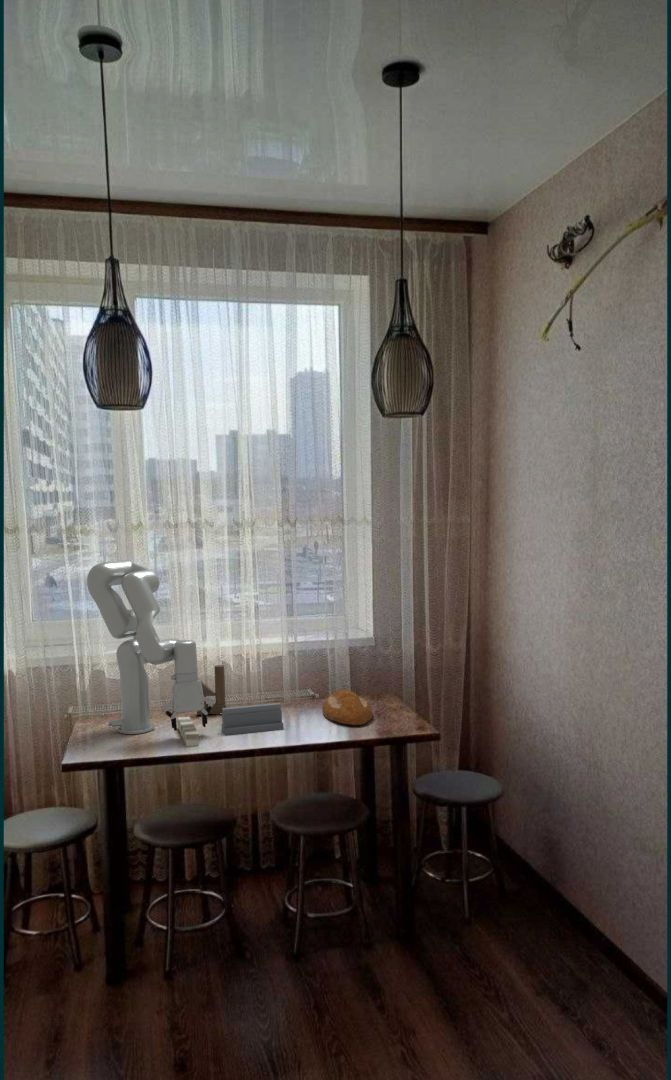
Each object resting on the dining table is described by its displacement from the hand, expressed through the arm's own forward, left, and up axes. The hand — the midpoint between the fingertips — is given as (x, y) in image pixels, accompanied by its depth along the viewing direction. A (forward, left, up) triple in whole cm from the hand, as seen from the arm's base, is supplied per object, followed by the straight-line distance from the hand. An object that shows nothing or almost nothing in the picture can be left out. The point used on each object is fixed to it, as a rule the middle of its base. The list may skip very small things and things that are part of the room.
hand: (189, 728), depth 285 cm
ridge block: (+21, +1, -3) cm, 22 cm away
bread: (+57, +6, -3) cm, 58 cm away
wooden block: (+11, +28, -3) cm, 30 cm away
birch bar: (-1, +1, -3) cm, 3 cm away
